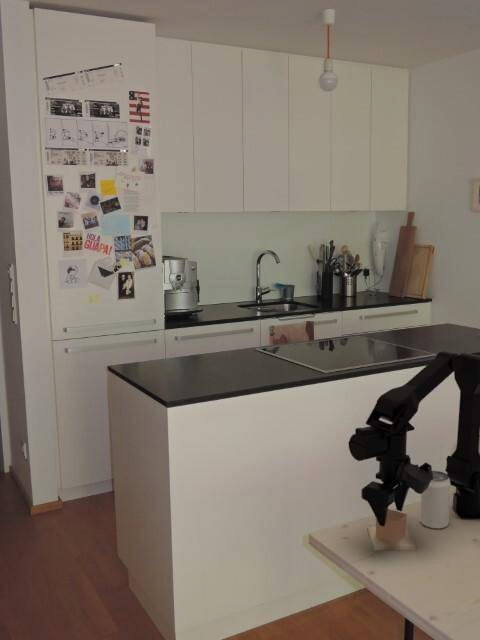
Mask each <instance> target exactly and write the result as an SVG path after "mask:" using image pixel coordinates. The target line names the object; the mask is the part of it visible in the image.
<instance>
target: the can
mask: <svg viewBox="0 0 480 640" xmlns="http://www.w3.org/2000/svg"><path fill="white" fill-rule="evenodd" d="M432 474H433V479H432V480H431V482H430V484H429V486H428V488H427V489H426V490H425V491H424V492H423V493H422V494H420V513H419V514H420V517H419V520H420V523H421V524H422V525H423V526H424V527H426V528H428V529H433V530H442V529H446V527H447V526H448V525H449V520H450V504H451V502H450V500H451V499H450V497H451V484H450V480H449V476H448V475H447V472H442V471H438V470H432Z"/></svg>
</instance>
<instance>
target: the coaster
mask: <svg viewBox="0 0 480 640" xmlns="http://www.w3.org/2000/svg"><path fill="white" fill-rule="evenodd" d="M366 531H367V533H368V536H369V539H370V542H371V545H372V548H373V550H374V551H416V549H417V546H416V544H415V542H414V539H413V538H412V536H411V534H410V531H409V530H408V528H407V526H406V535H405V536H404V537H403V538H402V539H401V540H400V541H399V542H398V543H397V544H396V543H393V542H390V541H386V540H383V539H380V538H377V537H376V525H374V526H371V525H370V526H366Z"/></svg>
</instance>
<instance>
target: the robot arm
mask: <svg viewBox="0 0 480 640" xmlns="http://www.w3.org/2000/svg"><path fill="white" fill-rule="evenodd" d="M452 374H453V375H454V378H453V379H454V380H455V382H456V384H457V387H458V389H459V406H458V407H459V408H458V421H457V436H456V438H457V439H456V449H455V450H454V451H453V453H452V454H451V455H447V456H446V466H445V470H444V471H445V473H446V474H447V475H448V476H449V478H448V479H449V481H450V486H452V487H455V492H454V493H453V495H452V496H453V497H452V509H453V511H454V512H455V513H456V515H457V517H459V519H461V520H475V519H476V520H479V519H480V452H479V451H480V450H479V449H480V448H479V447H480V355H477V354H473V353H468V352H462V353H460V354H458V353H456V352H450V351H446V350H443V351H442V350H441V351H439V352H438V353H436V355H435V357H434V358H433V359H432V361H430V362H429V363H428V364H427V365H426V366H425V367H423V368H422V369H421V370H420V371H419V372H417V374H416V375H414V376H413V377H411V379H409V380H408V381H407V382H406V383H405V384H403V385H401V386H398V387H394V388H391V389H389V390H387V391H385V393H383V394H381V395H380V396H379V397H378V398H377V400H376V403H375V405H374V406H373V409H372V410H371V412H370V413H369V416H368V417H367V420H366V422H365V424H366V425H367V426H364V427H357V428H355V430H354V432H355V433H354V434H352V435H351V436H350V438H349V441H348V449H349V453H350V454H351V456H352V458H353V459H354V460H356V461H357V462H362V461H365V460H370V459H373V458H375V461H376V462H378V463H379V464H378V465H379V466H378V470H379V471H377V473H375V479H377V480H380V481H381V482H377V481H371V482H369V483H368V484H367V485H365V486H363V487H362V488H361V490H360V491H361V495H360V496H361V499H362V500H364V501H365V502H367V504H368V505H369V507H370V509H371V510H372V512H373V514H374V516H375V519H377V521H378V523H379V525H380V526H383V527H384V526H385V523H386V518H387V512H388V509H389V506H390V505H392V504H393V503H394V504H395V508H396V511H398V512H401V511H403V508H404V505H405V501H406V498H407V496H408V494H409V491H410V489H411V490H413V492H415V493H416V494H418V495H421V494H422V493H423V492H424V491H425V490H426V489H427V488H428V486H429V484H430V482H431V480H432V479H433V474H432V471H433V468H432V465H431V464H430V463H428V462H424V463H423V464H421V465H419V464H415V463H414V464H413V463H411V459H412V457H410V455H409V454H407V442H408V441H407V439H408V435H407V434H408V432H411V431H414V430H415V426H414V425H412V424H411V423H410V421H411V419H413V417H414V416H415V415H416V414H417V412H418V411H419V406H420V403H421V402H422V401H423V400H424V399H425V398H426V397H427V396H428V395H429V394H430V393H432V392H433V391H434V390H435V389H436V388H437V387H438V386H440V385H441V383H443V382H444V381H445V380H447V379H448V378H449V377H450V375H452ZM380 419H382V420H380ZM383 420H385V421H383ZM386 421H387V422H386ZM388 422H390V423H388Z"/></svg>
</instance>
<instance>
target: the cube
mask: <svg viewBox="0 0 480 640" xmlns="http://www.w3.org/2000/svg"><path fill="white" fill-rule="evenodd" d="M375 519H376V518H375ZM375 521H376V522H375V524H376V525H375V526H376V537H377V538H380V539H383V540H386V541H390V542H393V543H396V544H397V543H398V542H399V541H400V540H401V539H402V538H403V537H404V536H405V535H406V527H407V513H404V512H401V511H398V510H395V509H394V510H393V509H390V508H388V512H387V518H386V523H385V526H384V527H383V526H380V525H379V523H378V521H377V519H376V520H375Z"/></svg>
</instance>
